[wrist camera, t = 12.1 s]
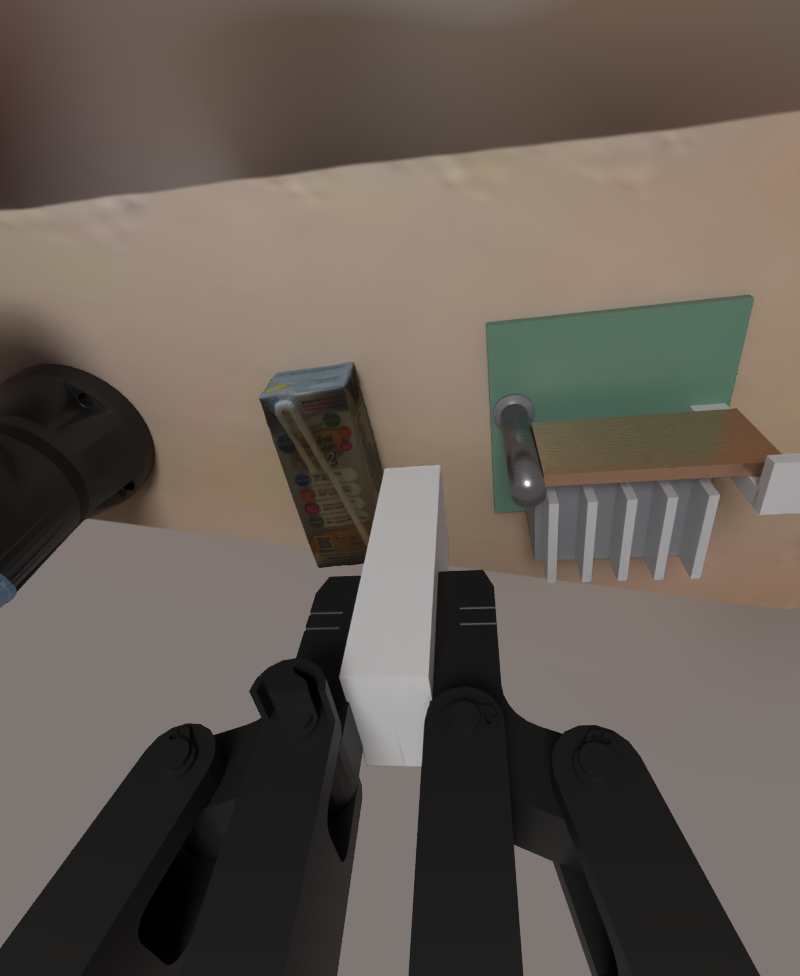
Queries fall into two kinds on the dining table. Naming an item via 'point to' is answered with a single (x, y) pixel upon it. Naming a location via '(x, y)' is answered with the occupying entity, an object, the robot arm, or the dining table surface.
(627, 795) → the robot arm
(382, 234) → the dining table surface
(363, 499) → the beverage carton
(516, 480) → the hinge
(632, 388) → the heat sink
